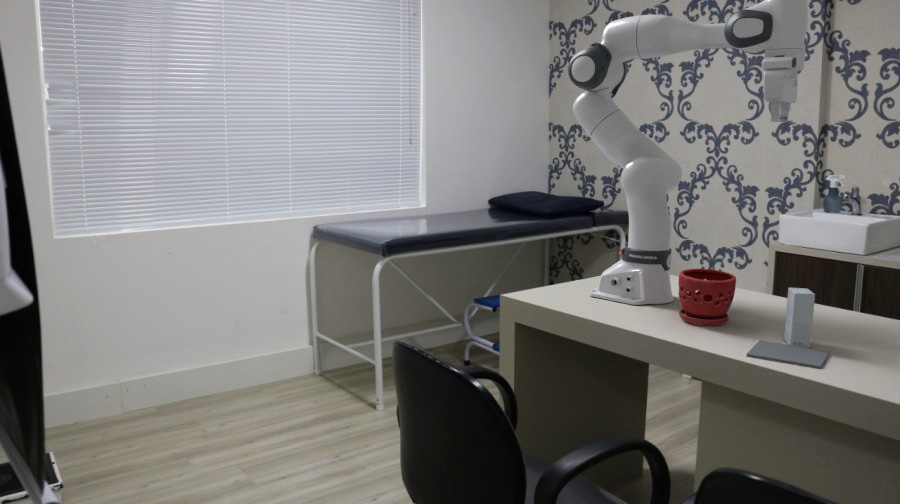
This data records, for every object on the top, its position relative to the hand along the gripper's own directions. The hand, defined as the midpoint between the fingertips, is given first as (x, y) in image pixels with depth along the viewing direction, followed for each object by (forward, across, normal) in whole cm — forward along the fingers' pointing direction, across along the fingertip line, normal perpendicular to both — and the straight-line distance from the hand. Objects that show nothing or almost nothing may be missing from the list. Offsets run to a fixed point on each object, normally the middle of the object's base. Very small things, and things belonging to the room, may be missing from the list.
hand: (779, 122), depth 179 cm
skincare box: (+48, +22, +11) cm, 54 cm away
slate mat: (+48, +32, +11) cm, 59 cm away
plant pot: (+48, +15, -11) cm, 52 cm away
